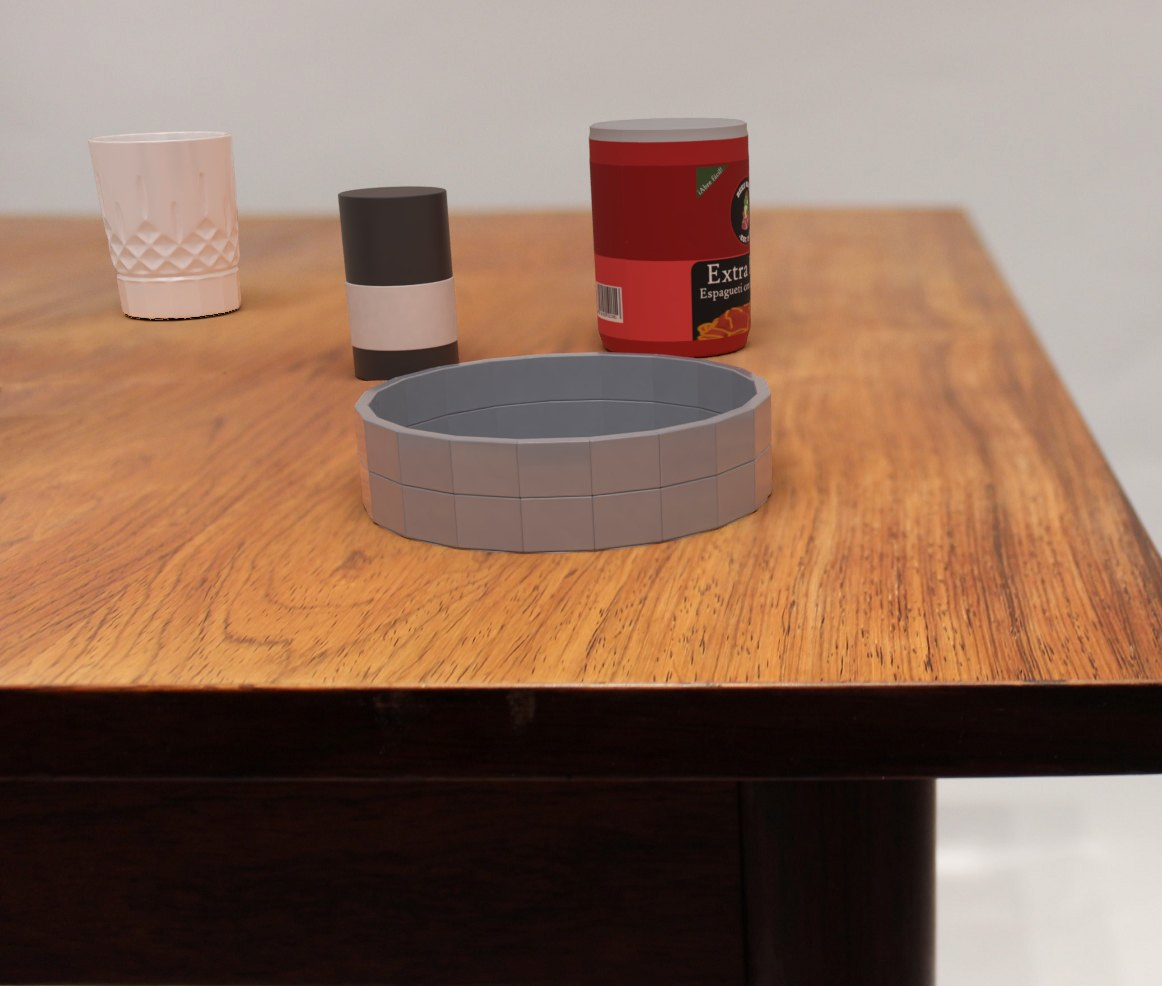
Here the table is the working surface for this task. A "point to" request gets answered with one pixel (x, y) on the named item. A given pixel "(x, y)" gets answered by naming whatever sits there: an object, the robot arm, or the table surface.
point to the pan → (564, 451)
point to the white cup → (170, 220)
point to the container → (398, 280)
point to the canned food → (671, 235)
